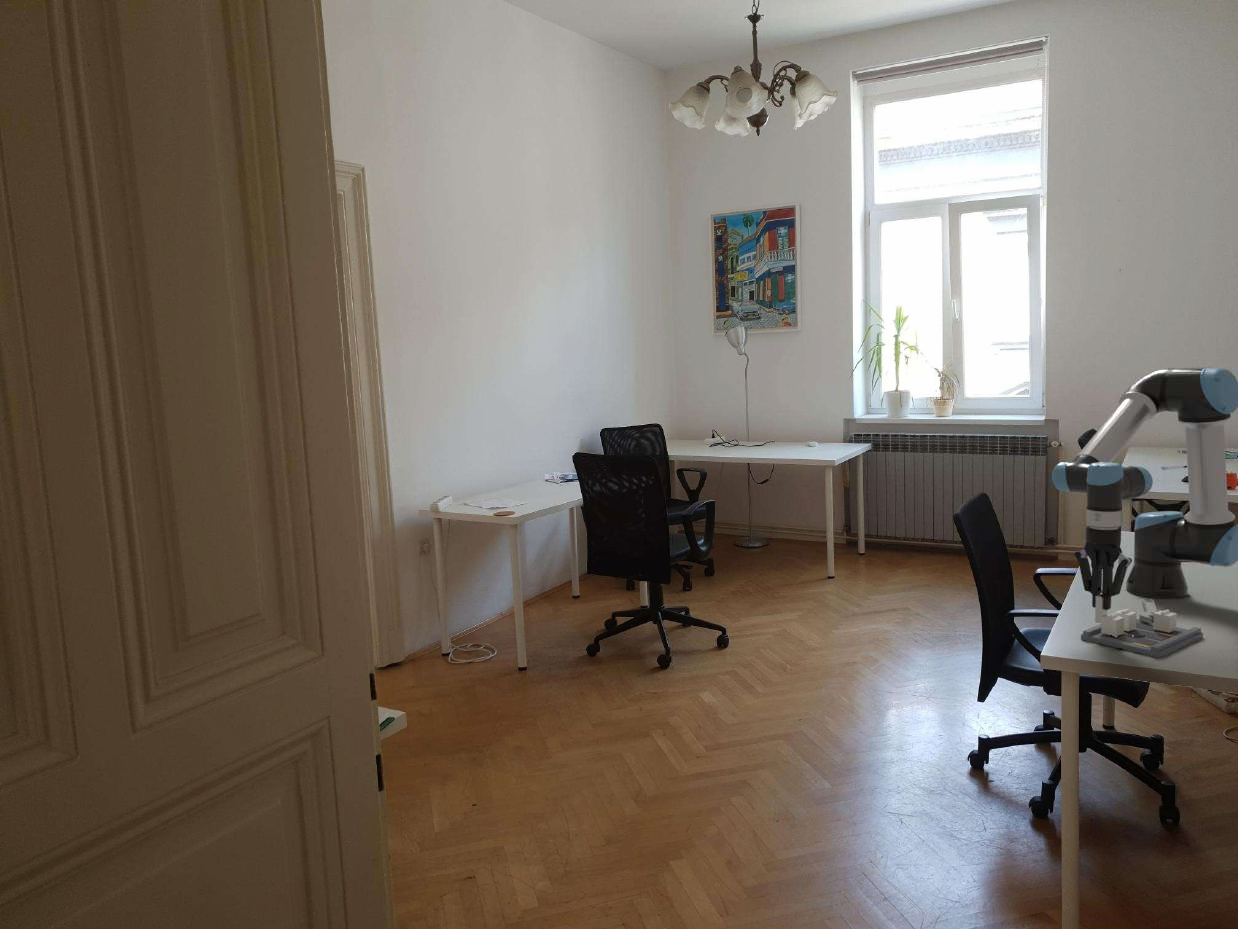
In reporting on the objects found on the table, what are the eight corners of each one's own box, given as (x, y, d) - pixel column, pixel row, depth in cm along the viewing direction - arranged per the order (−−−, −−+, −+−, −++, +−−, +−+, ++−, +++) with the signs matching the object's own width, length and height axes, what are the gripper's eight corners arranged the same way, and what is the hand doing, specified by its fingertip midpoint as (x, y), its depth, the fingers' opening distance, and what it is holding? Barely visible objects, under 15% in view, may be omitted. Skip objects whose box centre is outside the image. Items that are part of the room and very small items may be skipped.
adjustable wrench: (1141, 603, 246) (1141, 597, 246) (1168, 606, 242) (1169, 600, 242) (1138, 622, 224) (1139, 615, 224) (1168, 626, 221) (1169, 619, 221)
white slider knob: (1120, 625, 222) (1121, 607, 222) (1136, 628, 219) (1136, 610, 219) (1113, 628, 220) (1114, 610, 220) (1128, 631, 217) (1129, 613, 217)
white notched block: (1160, 626, 220) (1160, 608, 220) (1176, 629, 217) (1176, 611, 217) (1153, 629, 218) (1153, 610, 218) (1169, 632, 215) (1169, 614, 215)
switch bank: (1125, 621, 230) (1126, 613, 230) (1203, 637, 215) (1203, 628, 215) (1080, 639, 218) (1081, 630, 218) (1159, 657, 203) (1159, 648, 203)
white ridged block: (1108, 630, 219) (1109, 611, 218) (1123, 633, 216) (1124, 615, 215) (1101, 633, 217) (1101, 614, 216) (1116, 636, 214) (1116, 617, 213)
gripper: (1068, 525, 219) (1066, 618, 222) (1123, 532, 208) (1120, 630, 211) (1085, 521, 223) (1082, 613, 226) (1139, 528, 212) (1136, 624, 215)
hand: (1101, 621), depth 218 cm, fingers closed
